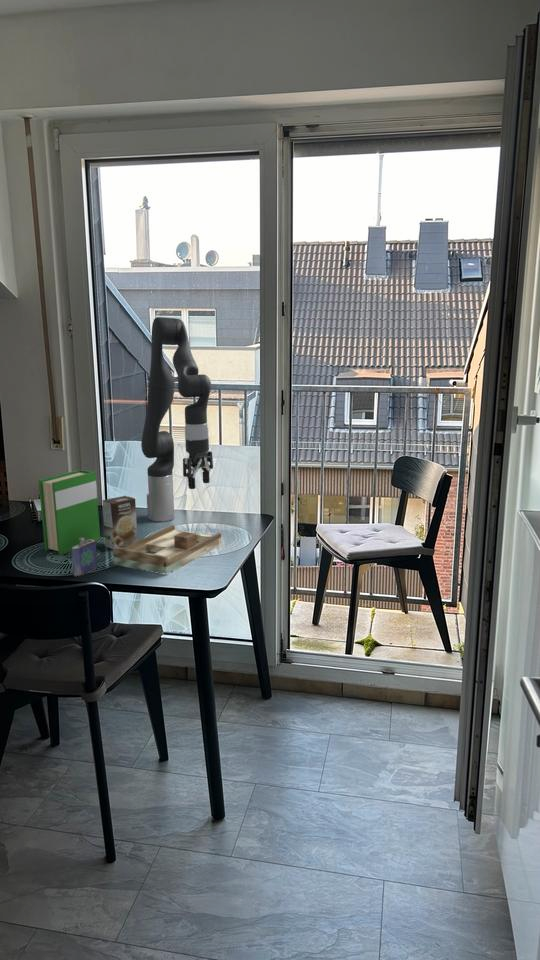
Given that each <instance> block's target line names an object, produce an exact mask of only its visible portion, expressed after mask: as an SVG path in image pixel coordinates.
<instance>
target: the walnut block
mask: <svg viewBox="0 0 540 960" xmlns="http://www.w3.org/2000/svg"><path fill="white" fill-rule="evenodd" d="M189 532H190V531H186V532H181V533H179V534H177V535H175V536H174V544H175V548H179V549H185V550H187V549H189V548H191V547H193V546H194V545H196V544H197V542H196V534H195V533H196V532H192V533H189Z"/></svg>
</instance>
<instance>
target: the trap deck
mask: <svg viewBox="0 0 540 960" xmlns="http://www.w3.org/2000/svg"><path fill="white" fill-rule="evenodd" d="M175 526H176V525H173V524H172V525H170V526H167V527H165V528H163V529H161V530H158V531H157V532H155V533H152V534H150V535H148V536H146V537H144V538H141V539H140V540H137V542H135V543H133V544H131V545H128V546H126V547H124V548H119V547H114V548H113V549H112V550H113V564H114V565H115V566H121V567H125V568H129V569H135V570H139V569H140V571H144V570H146V571H145V572H149V571H153V572H158V573H165V574H167V573H169V572H171V571H173V570H175V569H177V570H178V568H179V567H180V568H182V567H184V566H186V565H188V564H189V563H191V562H193V561H195V560H196V559H198V558H200V557H202V556H204V555H206V554H207V553H209V552H210V551H212V550H214V549H217V548H218V547H219V546H221V545H222V532H217V533H215V534H213V535H211V534H210V535H209V534H205V533H196V532H194V533H195V534H196V545H194V546H193V547H191V548H189V549H187V550H185V549H179V548H175V544H174V536H175V535H177V534H179V533H181V532H187V531H185V530H178V529H175ZM188 532H189V533H193V532H192V531H188ZM149 551H150V553H149ZM155 552H156V553H155ZM185 564H186V565H185ZM183 565H184V566H183ZM181 566H182V567H181ZM180 568H179V569H180ZM175 571H176V570H175ZM153 572H152V573H153ZM173 572H174V571H173ZM158 573H157V574H158ZM171 573H172V572H171Z"/></svg>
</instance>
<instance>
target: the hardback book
mask: <svg viewBox="0 0 540 960" xmlns="http://www.w3.org/2000/svg"><path fill="white" fill-rule="evenodd" d="M97 488H98V487H97V473H96V472H95V471H91V470H86V469H77V470H73V471H70V472H69V471H68V472H65V473H61V474H58V475H54V476H53V475H52V476H50V477H46V478H42V479H38V490H39V501H40V510H41V511H40V512H41V521H42V530H43V531H42V532H43V541H44V551H46V552H48V551H50V550H53V551H56V552H57V553H58V555H63V554H65V553H67V552H72V547H74V546H76V545H78V544H80V541H81V539H82V538H84V539H85V541H87V540H91V539H92V540H95V541H96V542H97V541H99V540H101V532H100V531H101V530H100V519H99V518H100V516H99V504H98V489H97ZM80 538H81V539H80ZM79 539H80V540H79Z"/></svg>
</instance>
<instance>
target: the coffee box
mask: <svg viewBox="0 0 540 960" xmlns="http://www.w3.org/2000/svg"><path fill="white" fill-rule="evenodd" d="M102 516H103V531H104V532H103V533H104V534H103V535H104V546H105V547H106V548H109V549H111V550H113V548H114V547H119V548H124V547H126V546H128V545H131V544H133V543H135V542H137V541H138V527H137V526H138V525H137V507H136V498H134V497H131V496H126V495H123V496H117V497H112V498H108V499H102Z"/></svg>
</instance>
